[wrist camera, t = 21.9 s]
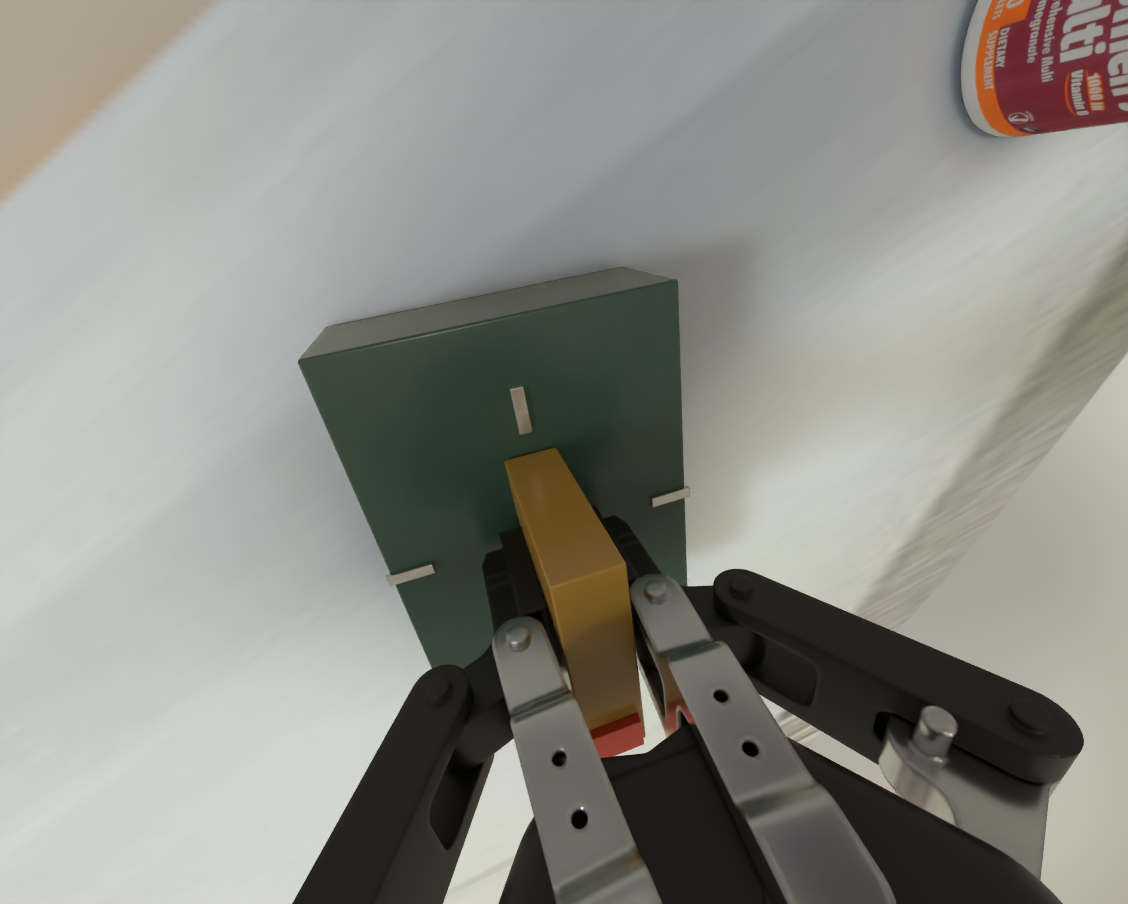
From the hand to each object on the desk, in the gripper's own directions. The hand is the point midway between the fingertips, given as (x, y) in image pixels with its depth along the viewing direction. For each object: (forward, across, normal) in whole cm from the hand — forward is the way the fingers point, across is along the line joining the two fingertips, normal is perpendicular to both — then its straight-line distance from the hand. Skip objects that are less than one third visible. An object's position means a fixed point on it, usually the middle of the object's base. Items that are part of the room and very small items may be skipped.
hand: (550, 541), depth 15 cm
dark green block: (+5, 0, 0) cm, 5 cm away
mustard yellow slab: (0, 0, 0) cm, 0 cm away
